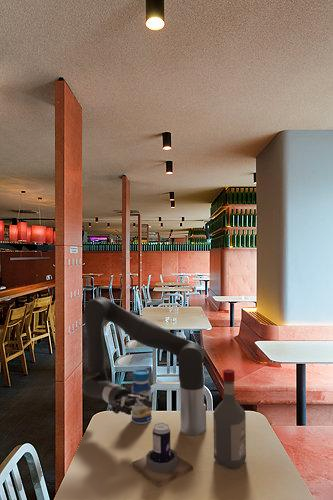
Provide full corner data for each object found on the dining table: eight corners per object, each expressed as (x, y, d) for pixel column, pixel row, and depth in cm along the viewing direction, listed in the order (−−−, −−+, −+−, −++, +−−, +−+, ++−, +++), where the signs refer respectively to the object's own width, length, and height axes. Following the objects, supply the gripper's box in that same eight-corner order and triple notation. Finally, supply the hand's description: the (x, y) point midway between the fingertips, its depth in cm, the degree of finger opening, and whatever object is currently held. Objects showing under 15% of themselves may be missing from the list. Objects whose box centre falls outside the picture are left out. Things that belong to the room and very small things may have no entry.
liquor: (248, 458, 132) (247, 369, 131) (237, 471, 124) (235, 377, 124) (223, 450, 137) (222, 365, 137) (211, 463, 129) (210, 372, 129)
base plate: (165, 452, 137) (165, 447, 137) (192, 469, 126) (192, 465, 126) (132, 466, 128) (131, 462, 128) (158, 487, 117) (158, 482, 117)
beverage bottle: (153, 416, 166) (152, 368, 165) (150, 425, 157) (149, 375, 157) (134, 415, 167) (133, 368, 167) (129, 424, 158) (128, 374, 158)
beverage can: (168, 469, 124) (168, 431, 123) (151, 467, 125) (150, 429, 125) (171, 459, 129) (171, 423, 129) (155, 458, 130) (154, 421, 130)
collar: (164, 452, 134) (164, 444, 134) (184, 464, 126) (183, 457, 126) (140, 462, 128) (140, 454, 128) (159, 476, 120) (159, 468, 120)
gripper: (99, 390, 144) (123, 403, 132) (131, 381, 153) (156, 392, 140) (100, 411, 144) (123, 425, 132) (132, 400, 153) (157, 413, 141)
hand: (140, 408), depth 136 cm, fingers open, 8 cm apart
